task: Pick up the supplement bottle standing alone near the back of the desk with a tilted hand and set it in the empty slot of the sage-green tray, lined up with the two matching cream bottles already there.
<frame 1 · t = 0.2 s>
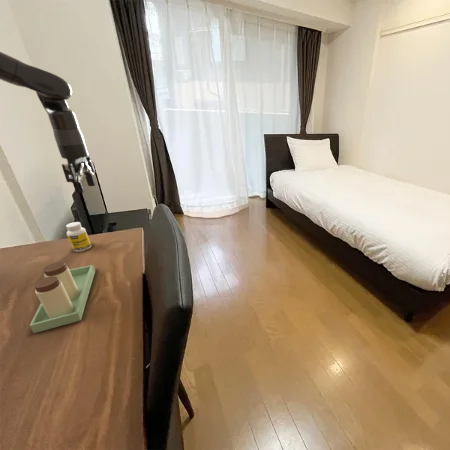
hand: (86, 189, 98), 20 cm above the table, tool pointing down, fingers open, 8 cm apart
cream bottle middle: (68, 296, 75), resting on tray
tray: (69, 297, 75), on the table
supplement bottle: (82, 248, 99), on the table
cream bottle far: (62, 313, 69), resting on tray
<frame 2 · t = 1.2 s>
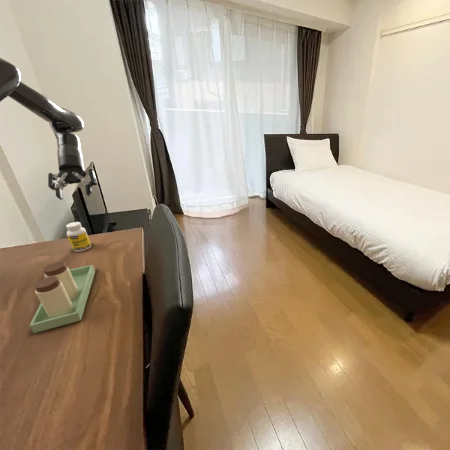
hand: (74, 196, 101), 16 cm above the table, tool tilted 45°, fingers open, 8 cm apart
nothing on the table moved.
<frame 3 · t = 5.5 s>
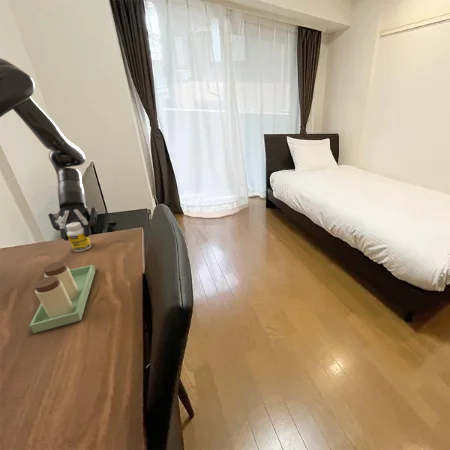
hand: (76, 237, 95), 5 cm above the table, tool tilted 45°, fingers closed on supplement bottle, 5 cm apart
supplement bottle: (82, 248, 99), on the table, touching gripper
everything else where it was.
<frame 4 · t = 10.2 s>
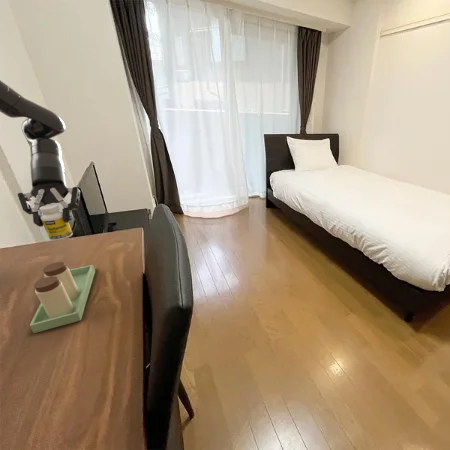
hand: (53, 223, 77), 18 cm above the table, tool tilted 45°, fingers closed on supplement bottle, 5 cm apart
supplement bottle: (62, 237, 81), point 12 cm above the table, touching gripper
everything else where it was.
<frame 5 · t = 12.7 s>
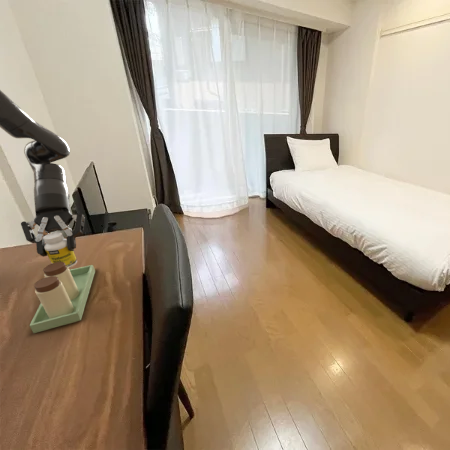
hand: (57, 252, 74), 12 cm above the table, tool tilted 45°, fingers closed on supplement bottle, 5 cm apart
supplement bottle: (66, 265, 78), point 6 cm above the table, touching gripper
everything else where it was.
when the fingers open (6 cm above the table, at t = 14.9 s): supplement bottle stays where it is, resting on tray.
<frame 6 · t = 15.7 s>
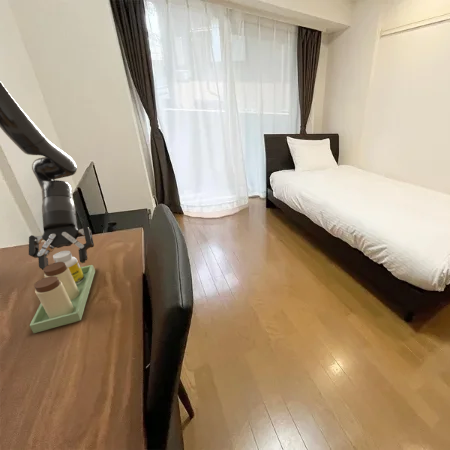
hand: (64, 266, 77), 7 cm above the table, tool tilted 45°, fingers open, 8 cm apart
supplement bottle: (74, 282, 81), resting on tray
everything else where it was.
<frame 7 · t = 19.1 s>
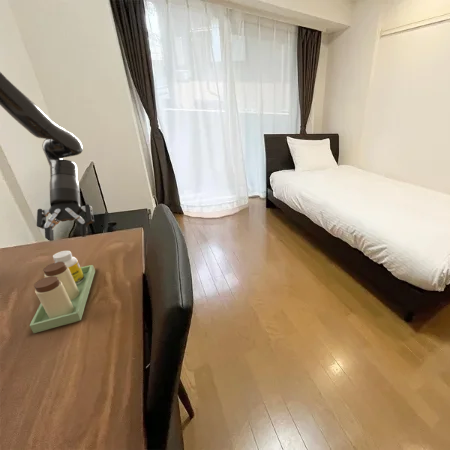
hand: (67, 238, 86), 9 cm above the table, tool tilted 40°, fingers open, 8 cm apart
nothing on the table moved.
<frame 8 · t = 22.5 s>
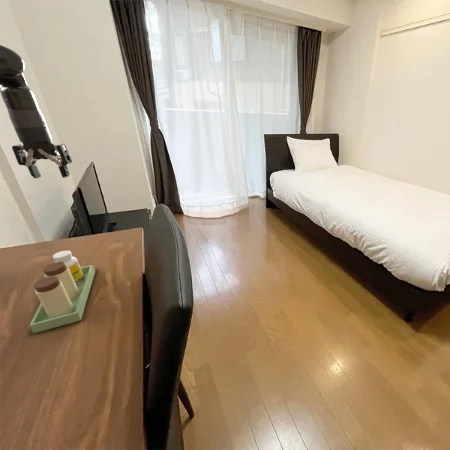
hand: (52, 177, 89), 26 cm above the table, tool pointing down, fingers open, 8 cm apart
nothing on the table moved.
at the end: supplement bottle 0.1 cm from the target spot in the tray, point 0.3 cm above the tray's base; supplement bottle tilted 0°; cream bottle middle moved 0.0 cm from its start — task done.
